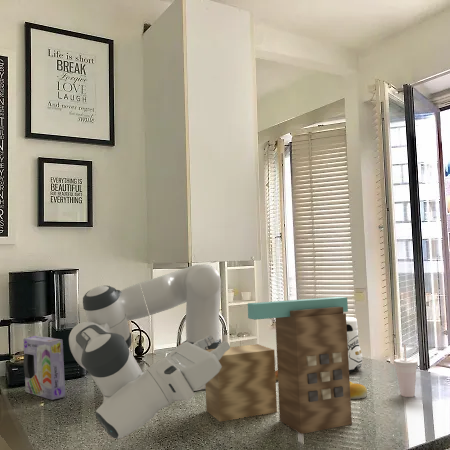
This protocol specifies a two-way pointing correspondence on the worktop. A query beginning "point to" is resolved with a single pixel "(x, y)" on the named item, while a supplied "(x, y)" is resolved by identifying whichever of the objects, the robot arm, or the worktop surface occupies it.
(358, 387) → the bread roll
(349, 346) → the milk container
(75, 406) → the worktop surface
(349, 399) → the button stand
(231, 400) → the oak block
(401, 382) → the smoothie
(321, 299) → the long teal plank
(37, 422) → the worktop surface
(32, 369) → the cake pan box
